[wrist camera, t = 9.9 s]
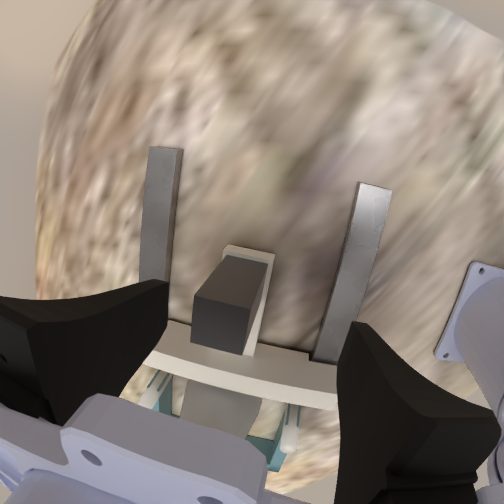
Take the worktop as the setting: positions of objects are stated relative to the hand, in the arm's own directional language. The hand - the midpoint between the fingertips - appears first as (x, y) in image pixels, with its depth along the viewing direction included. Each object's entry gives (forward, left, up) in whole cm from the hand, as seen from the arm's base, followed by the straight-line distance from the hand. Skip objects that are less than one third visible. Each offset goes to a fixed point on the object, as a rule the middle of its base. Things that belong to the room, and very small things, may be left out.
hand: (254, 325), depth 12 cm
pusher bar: (+2, +4, -9) cm, 10 cm away
